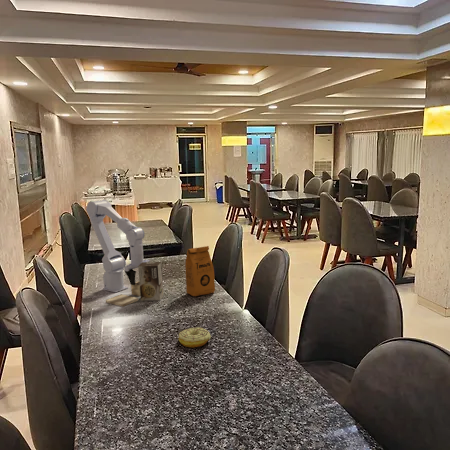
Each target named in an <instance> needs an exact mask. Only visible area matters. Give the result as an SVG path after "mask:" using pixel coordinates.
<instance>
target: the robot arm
mask: <svg viewBox="0 0 450 450" xmlns="http://www.w3.org/2000/svg"><path fill="white" fill-rule="evenodd" d="M85 210H86V213H87V215H88V217H89V221H90V224H91V227H92V229H93V231H94V234H95V236H96V238H97V240H98V243H99V245H100V247H101V250H102V252H103V254H104V255H103V257H102V259H101V261H102V267H103V271H105V272H104V273H103V275H102V276H103V277H102V278H103V288H102V290H104V291H106V292H107V291H108V292H112V293H119V292H120V291H121V292H122V291H123V290H126V289H128V288H129V287H128V286H125V282H124V281H125V280H124V273H125V275H126V276H127V278H128V280H129V283H130V286H131V285H135V282H136V273H137V271H136V270H135V269H137V268H138V266H139V265H140V264H141V263H142V262H151V260H150V259H144V247H143V239H144V238H145V236H146V235H145V234H146V233H145V231H144V229H143V228H142V227H141V226H139V227H138V226H136V225H135V224H134V223H133V222H131V221H130V219H129V218H127V217H122V216H121V215H120V214H119V213H118V212H117V210H115V209H114V208H113V207H112V203H111V202H110V201H109V200H107V199H102V200H95V201H92V200H91V201H88V203H87V205H86V209H85ZM106 217H108V218H110V219H111V220H112V221H113V222H115V223H116V224H117V225H116V226H117V228H118V229H119V230H120V231H121V232H122V233H123V234H125V236H126V239H127V241H128V244H129V251H130V252H129V253H130V263H129V264H128V265H126V264H127V262H126V259H125V258H124V256H123V255H122V253H121V251H118V250H116V249H115V247H114V244H113V241H112V239H111V237H110V235H109V232H108V230H107V228H106V225H105V222H104V219H105V218H106Z"/></svg>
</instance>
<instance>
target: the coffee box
mask: <svg viewBox="0 0 450 450" xmlns="http://www.w3.org/2000/svg"><path fill="white" fill-rule="evenodd" d="M138 278H139V279H138V280H139V282H140V295H141V296H140V301H142V302H143V301H144V302H145V301H161V300H162V299H163V297H164V285H163V269H162V262H161V261H150V262H142V263H141V264H140V265H139V266H138Z"/></svg>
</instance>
